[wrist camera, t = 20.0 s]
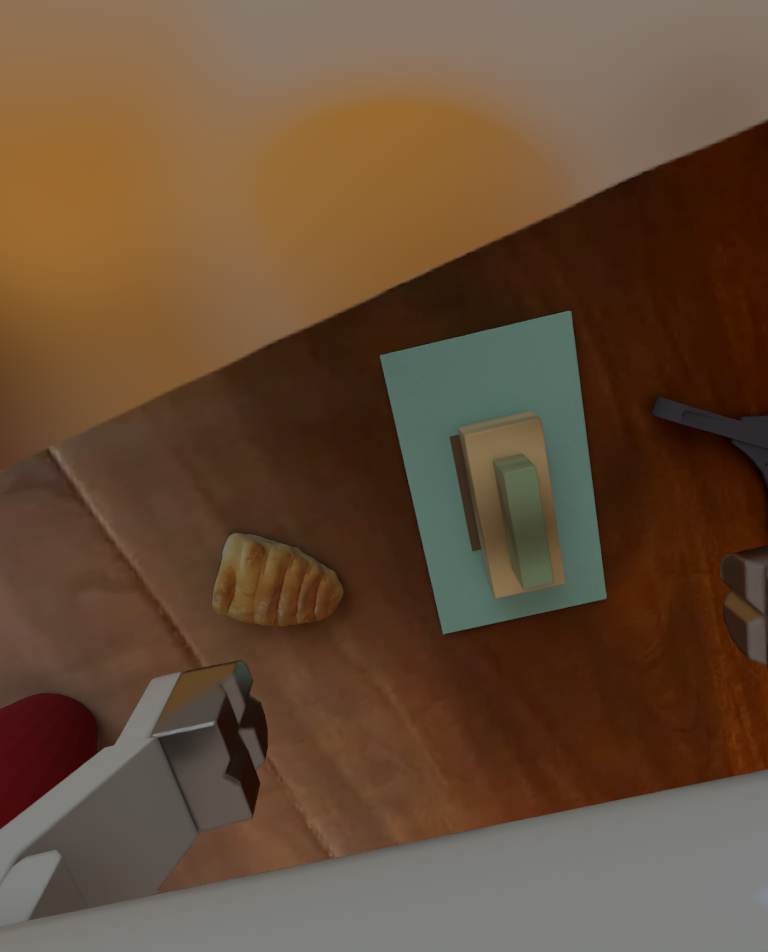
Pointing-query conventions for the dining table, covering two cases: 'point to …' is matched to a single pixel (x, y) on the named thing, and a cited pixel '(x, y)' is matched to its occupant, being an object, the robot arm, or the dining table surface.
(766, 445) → the bracket
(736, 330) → the dining table surface
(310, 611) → the pastry
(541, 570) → the brush
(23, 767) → the vase
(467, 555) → the mat
